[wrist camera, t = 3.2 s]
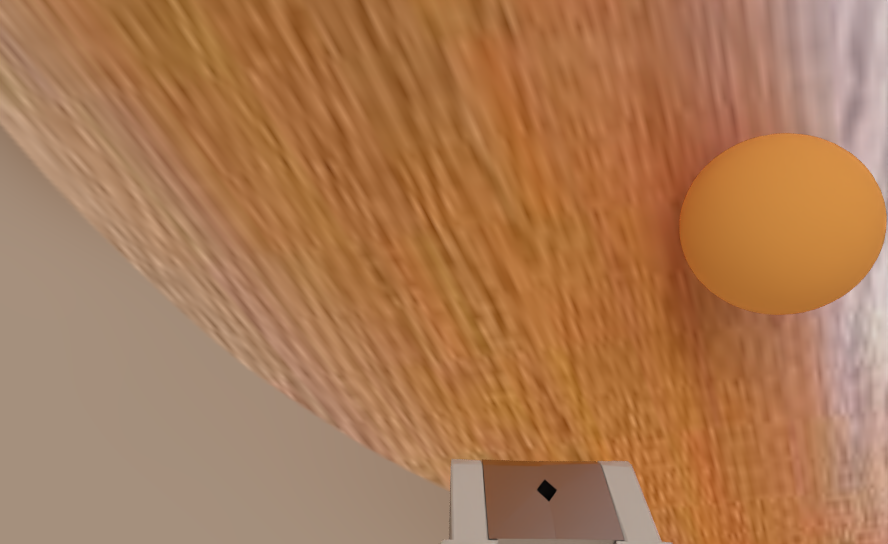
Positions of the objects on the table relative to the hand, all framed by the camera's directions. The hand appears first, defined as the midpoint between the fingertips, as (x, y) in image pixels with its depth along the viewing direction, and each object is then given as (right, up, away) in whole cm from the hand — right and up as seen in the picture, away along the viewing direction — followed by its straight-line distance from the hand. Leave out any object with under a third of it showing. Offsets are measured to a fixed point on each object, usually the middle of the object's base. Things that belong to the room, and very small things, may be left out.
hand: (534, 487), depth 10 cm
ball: (+10, +5, +10) cm, 15 cm away
